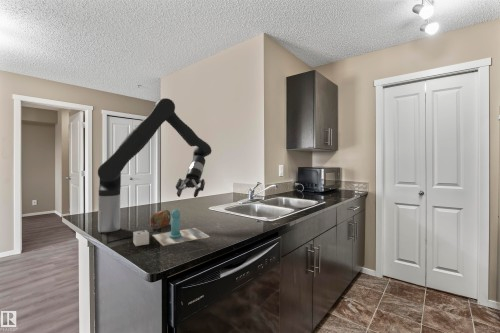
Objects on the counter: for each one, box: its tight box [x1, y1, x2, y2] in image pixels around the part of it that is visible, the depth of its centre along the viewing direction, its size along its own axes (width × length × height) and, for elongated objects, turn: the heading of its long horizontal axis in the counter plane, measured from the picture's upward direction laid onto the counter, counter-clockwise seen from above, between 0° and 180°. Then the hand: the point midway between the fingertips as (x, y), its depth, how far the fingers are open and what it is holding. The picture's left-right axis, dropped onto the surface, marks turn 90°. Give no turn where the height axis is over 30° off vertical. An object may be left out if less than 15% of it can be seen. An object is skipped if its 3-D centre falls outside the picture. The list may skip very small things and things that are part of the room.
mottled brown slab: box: [150, 209, 171, 231], centre depth 125 cm, size 15×3×8 cm, turn 168°
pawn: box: [169, 209, 181, 239], centre depth 109 cm, size 5×5×12 cm
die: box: [132, 229, 150, 247], centre depth 100 cm, size 5×5×5 cm
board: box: [151, 227, 211, 247], centre depth 110 cm, size 21×17×1 cm
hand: (186, 196), depth 120 cm, fingers open, 8 cm apart
